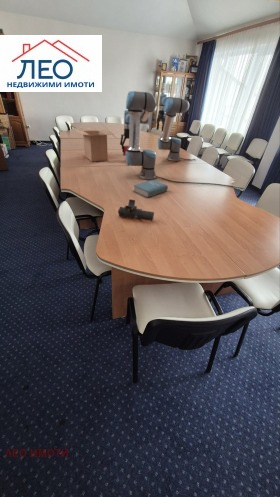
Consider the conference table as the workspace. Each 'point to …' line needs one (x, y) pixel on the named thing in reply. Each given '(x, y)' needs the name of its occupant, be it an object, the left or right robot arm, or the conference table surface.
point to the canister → (125, 149)
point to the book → (150, 188)
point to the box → (95, 143)
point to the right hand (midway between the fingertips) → (160, 130)
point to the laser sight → (135, 212)
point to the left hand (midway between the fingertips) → (127, 152)
